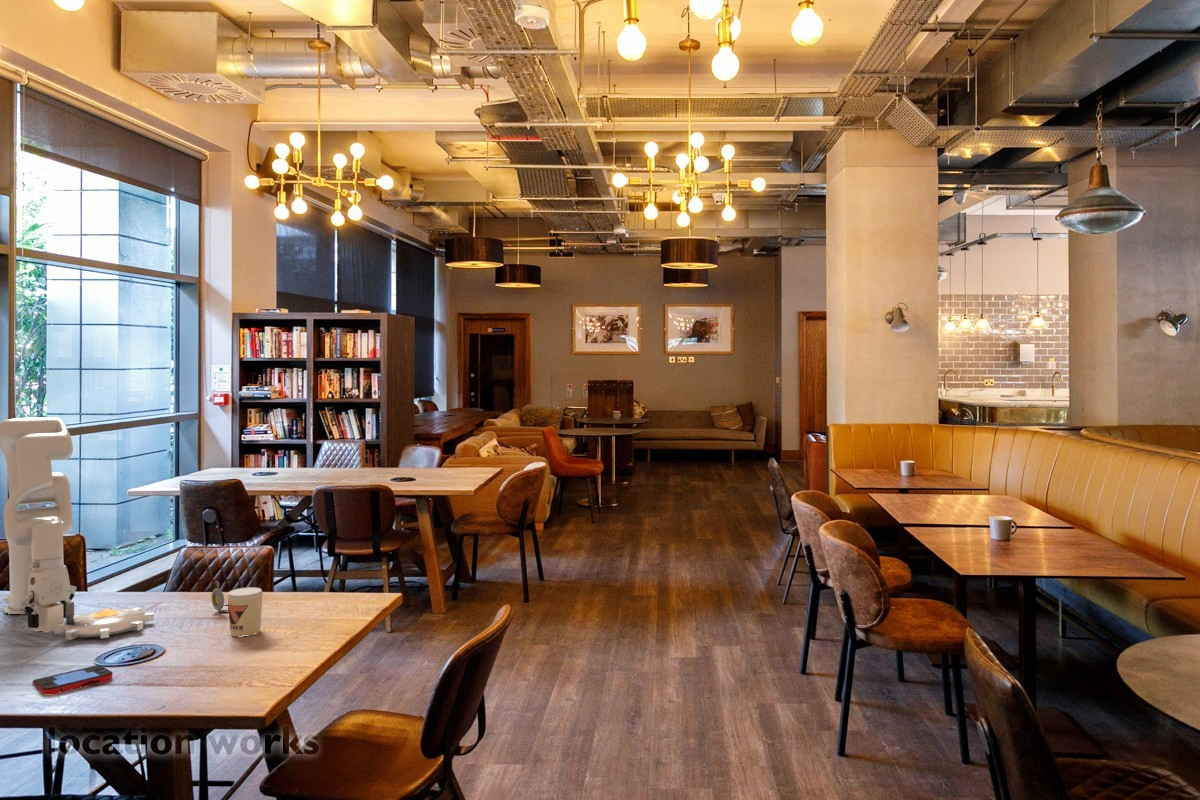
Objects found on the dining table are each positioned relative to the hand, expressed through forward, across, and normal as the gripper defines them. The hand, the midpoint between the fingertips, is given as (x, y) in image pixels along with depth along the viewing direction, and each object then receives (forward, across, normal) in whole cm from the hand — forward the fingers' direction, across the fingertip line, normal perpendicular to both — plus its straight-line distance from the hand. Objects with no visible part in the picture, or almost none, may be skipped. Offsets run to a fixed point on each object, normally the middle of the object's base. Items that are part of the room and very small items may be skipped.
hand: (49, 622), depth 235 cm
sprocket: (+2, +4, -16) cm, 16 cm away
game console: (+4, -30, -42) cm, 51 cm away
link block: (+2, 0, 0) cm, 2 cm away
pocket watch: (+2, +29, -36) cm, 46 cm away
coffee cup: (+3, +12, -57) cm, 58 cm away
